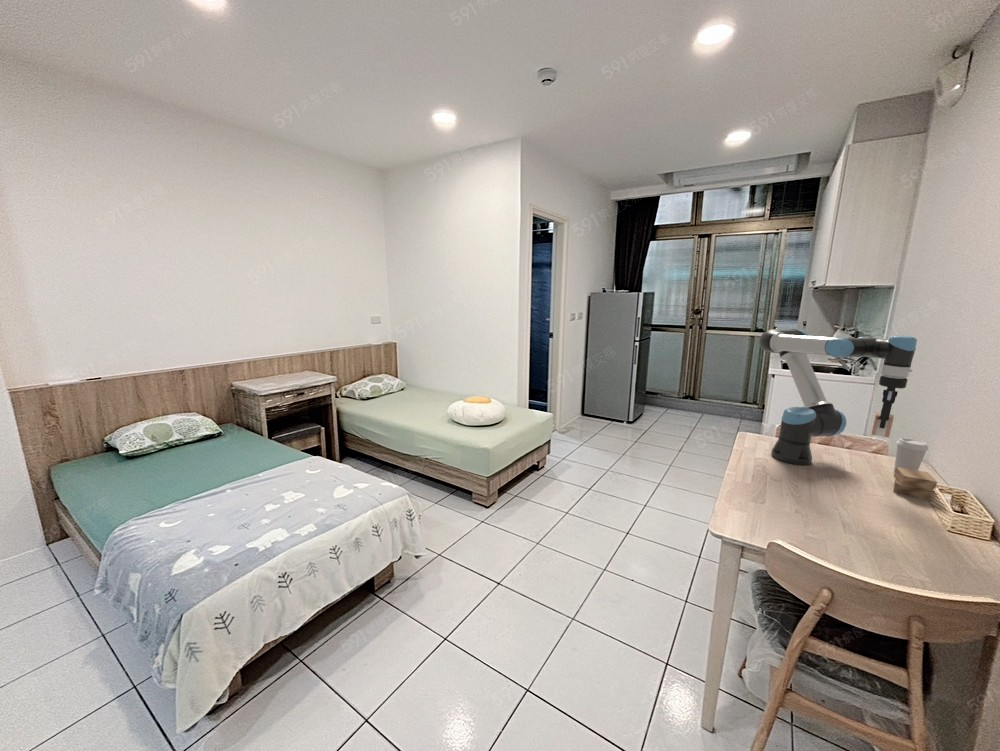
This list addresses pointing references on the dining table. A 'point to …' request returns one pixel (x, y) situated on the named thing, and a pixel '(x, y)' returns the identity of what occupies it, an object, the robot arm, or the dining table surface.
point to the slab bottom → (911, 491)
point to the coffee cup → (910, 453)
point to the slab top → (915, 479)
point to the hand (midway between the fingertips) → (880, 433)
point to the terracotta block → (887, 425)
